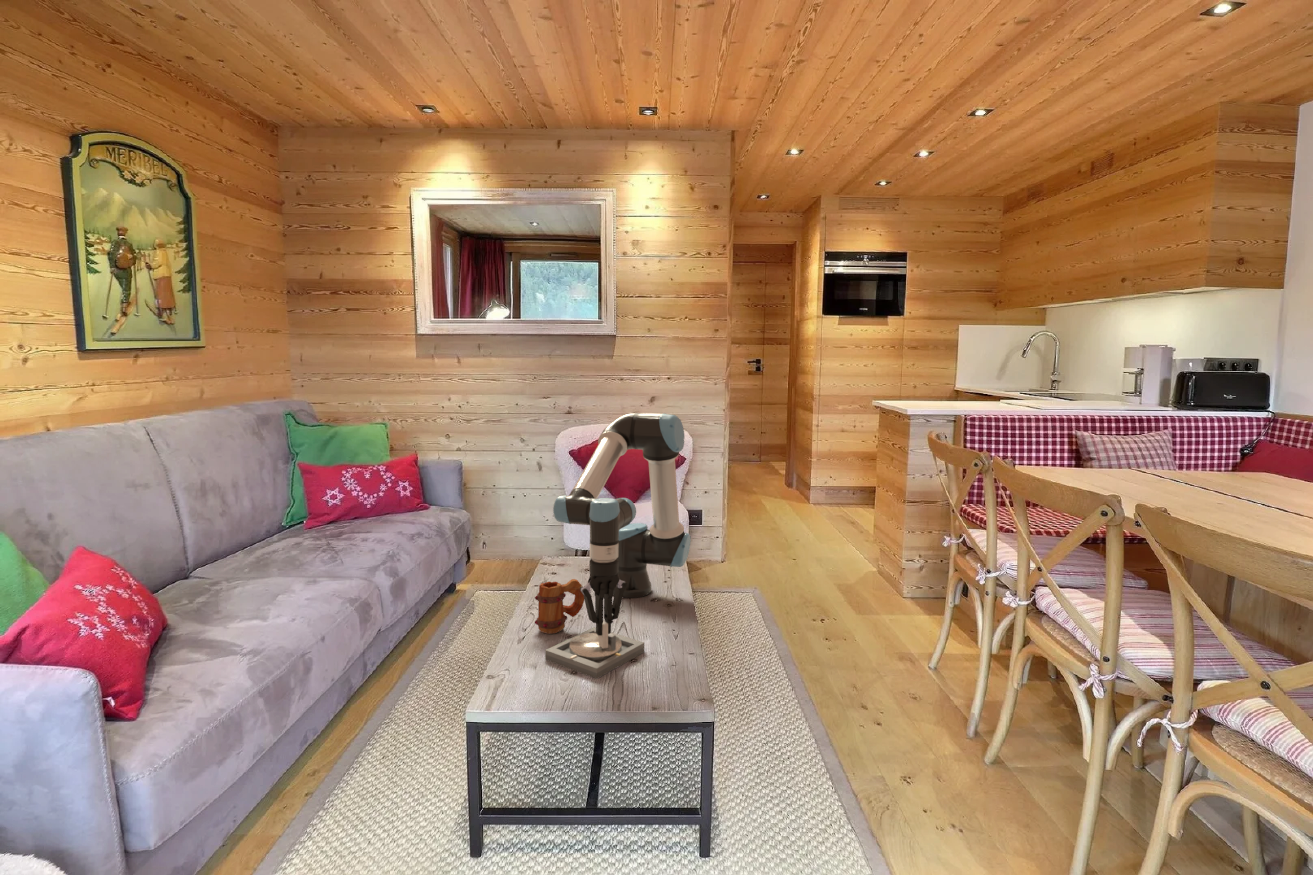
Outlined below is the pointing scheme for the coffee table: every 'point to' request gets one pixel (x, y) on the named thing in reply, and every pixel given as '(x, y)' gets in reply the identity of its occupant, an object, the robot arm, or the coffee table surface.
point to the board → (593, 669)
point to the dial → (594, 647)
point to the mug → (557, 605)
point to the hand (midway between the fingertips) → (603, 645)
